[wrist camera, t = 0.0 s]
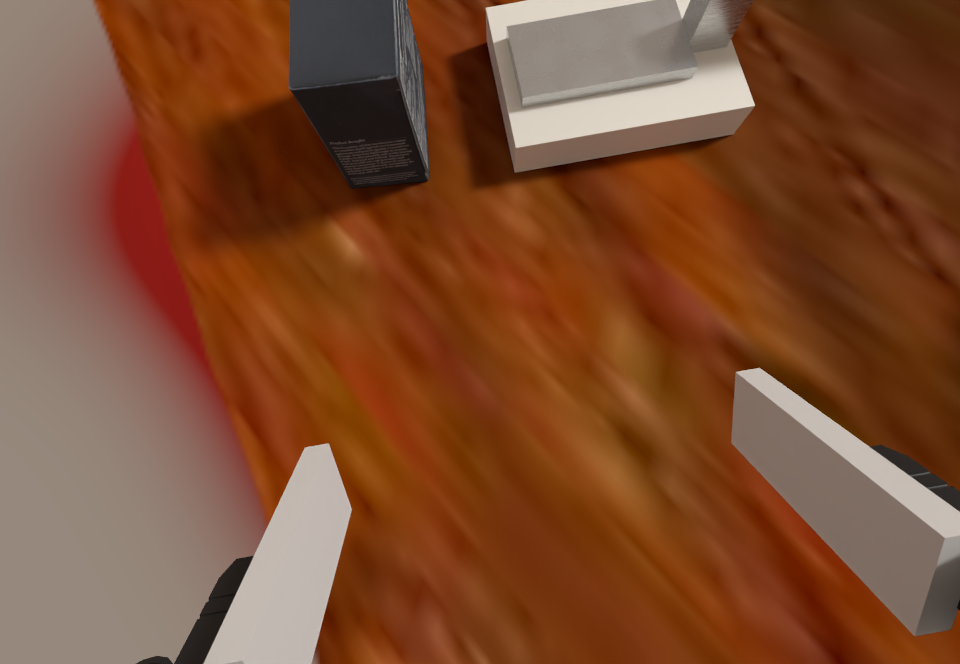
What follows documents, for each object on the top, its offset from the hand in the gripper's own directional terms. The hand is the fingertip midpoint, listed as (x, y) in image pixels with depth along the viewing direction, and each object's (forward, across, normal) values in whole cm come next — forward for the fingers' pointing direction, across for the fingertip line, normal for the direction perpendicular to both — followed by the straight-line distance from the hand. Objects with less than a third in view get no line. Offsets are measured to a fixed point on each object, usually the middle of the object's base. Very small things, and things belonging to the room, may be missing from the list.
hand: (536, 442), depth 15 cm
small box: (+27, +6, -11) cm, 30 cm away
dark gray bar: (+25, -16, -13) cm, 32 cm away
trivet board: (+27, -12, -11) cm, 32 cm away
